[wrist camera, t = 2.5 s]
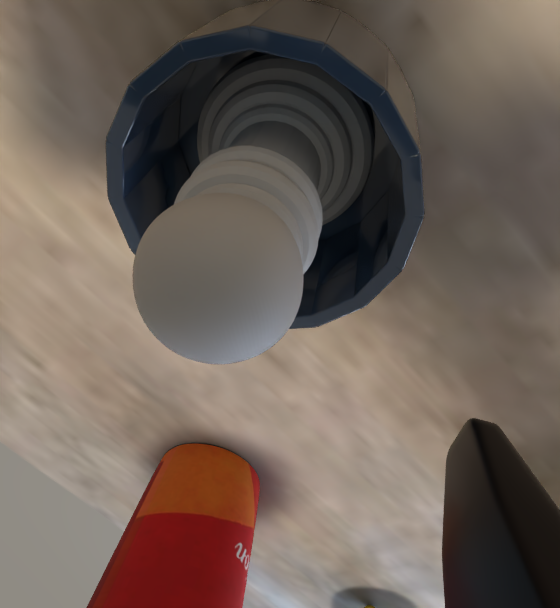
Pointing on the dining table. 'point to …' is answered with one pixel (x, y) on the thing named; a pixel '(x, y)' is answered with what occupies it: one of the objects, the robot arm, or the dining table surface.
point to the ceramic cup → (184, 155)
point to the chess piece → (252, 209)
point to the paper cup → (186, 535)
